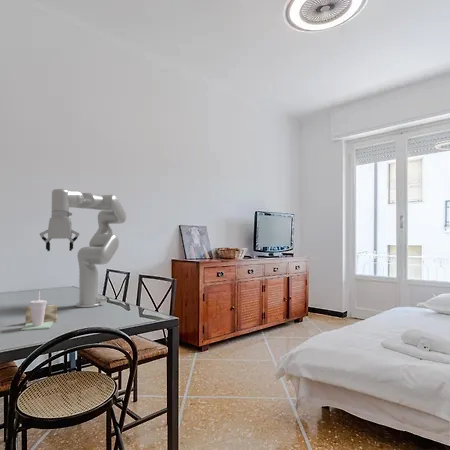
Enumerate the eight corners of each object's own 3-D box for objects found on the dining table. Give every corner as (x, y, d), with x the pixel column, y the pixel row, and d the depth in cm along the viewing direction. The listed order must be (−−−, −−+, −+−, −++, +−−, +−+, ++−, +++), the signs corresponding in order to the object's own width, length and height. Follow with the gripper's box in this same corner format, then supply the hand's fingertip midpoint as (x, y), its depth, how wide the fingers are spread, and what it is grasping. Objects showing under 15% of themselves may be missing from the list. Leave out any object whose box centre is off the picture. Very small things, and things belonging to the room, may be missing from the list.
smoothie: (49, 323, 149) (50, 289, 150) (41, 326, 143) (42, 292, 143) (34, 323, 149) (34, 289, 150) (25, 327, 143) (26, 292, 143)
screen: (57, 320, 157) (57, 304, 157) (56, 321, 154) (56, 305, 154) (26, 322, 153) (27, 306, 153) (25, 324, 150) (25, 307, 150)
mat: (53, 322, 152) (53, 321, 152) (49, 328, 143) (49, 327, 143) (26, 324, 149) (27, 323, 149) (21, 330, 140) (21, 329, 140)
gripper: (80, 215, 176) (79, 250, 176) (41, 215, 171) (41, 250, 170) (78, 214, 169) (78, 250, 168) (38, 214, 164) (38, 251, 163)
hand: (59, 250), depth 169 cm, fingers open, 9 cm apart
